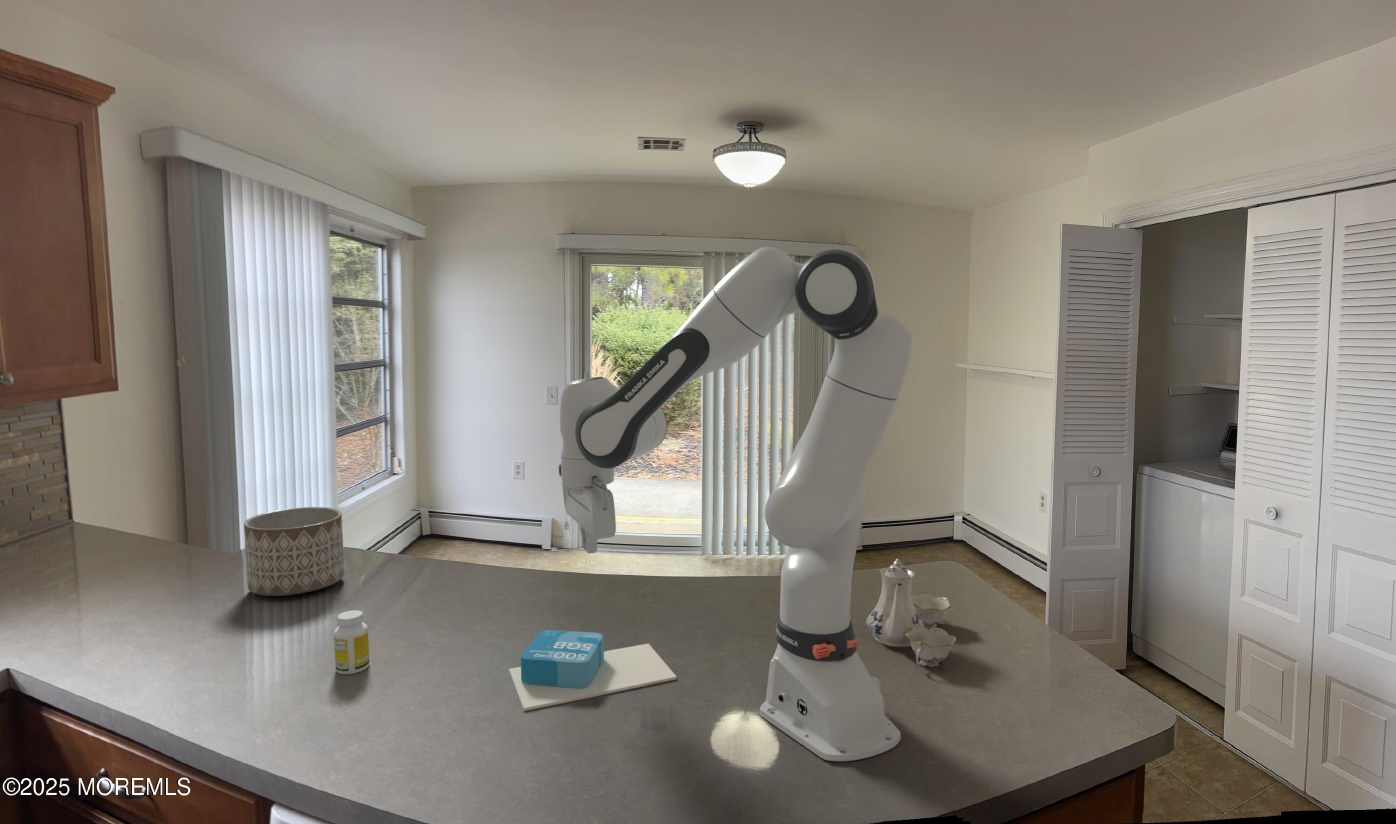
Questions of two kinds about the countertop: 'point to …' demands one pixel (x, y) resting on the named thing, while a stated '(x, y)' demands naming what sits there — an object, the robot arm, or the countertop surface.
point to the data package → (562, 659)
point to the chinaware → (910, 617)
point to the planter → (294, 550)
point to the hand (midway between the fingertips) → (589, 551)
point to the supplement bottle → (351, 643)
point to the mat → (600, 678)
